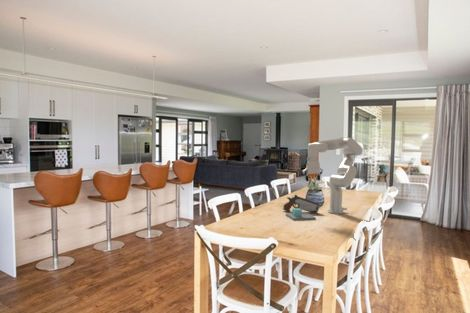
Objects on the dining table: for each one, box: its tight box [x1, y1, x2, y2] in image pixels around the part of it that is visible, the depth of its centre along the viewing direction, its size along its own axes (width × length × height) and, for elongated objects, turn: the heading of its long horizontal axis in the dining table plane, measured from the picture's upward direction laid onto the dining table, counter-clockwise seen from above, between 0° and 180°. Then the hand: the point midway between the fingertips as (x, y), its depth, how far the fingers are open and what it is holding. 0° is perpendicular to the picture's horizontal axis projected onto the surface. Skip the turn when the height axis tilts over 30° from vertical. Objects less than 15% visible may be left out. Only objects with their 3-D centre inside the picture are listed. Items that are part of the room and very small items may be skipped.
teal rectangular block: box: [291, 207, 303, 217], centre depth 255 cm, size 6×6×5 cm
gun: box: [282, 194, 320, 214], centre depth 273 cm, size 5×27×15 cm, turn 79°
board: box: [285, 212, 317, 221], centre depth 255 cm, size 18×16×6 cm
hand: (312, 180), depth 260 cm, fingers open, 9 cm apart
